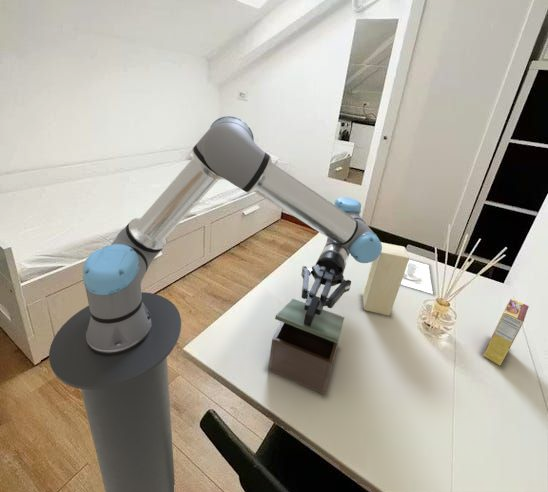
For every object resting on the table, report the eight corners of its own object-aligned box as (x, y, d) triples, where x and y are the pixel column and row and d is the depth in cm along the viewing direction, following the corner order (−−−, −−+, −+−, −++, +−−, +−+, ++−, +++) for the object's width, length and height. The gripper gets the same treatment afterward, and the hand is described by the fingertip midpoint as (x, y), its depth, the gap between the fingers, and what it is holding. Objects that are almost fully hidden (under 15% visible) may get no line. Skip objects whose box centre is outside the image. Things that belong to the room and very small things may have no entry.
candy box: (489, 338, 84) (511, 297, 78) (507, 348, 82) (531, 306, 76) (481, 355, 79) (504, 311, 73) (499, 366, 76) (525, 322, 70)
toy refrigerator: (387, 300, 96) (404, 245, 87) (390, 316, 89) (409, 258, 81) (362, 294, 97) (377, 240, 89) (363, 310, 90) (380, 252, 82)
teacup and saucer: (396, 276, 109) (399, 267, 107) (396, 265, 115) (399, 256, 114) (421, 283, 106) (424, 274, 104) (420, 272, 113) (423, 263, 111)
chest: (324, 395, 64) (332, 364, 60) (268, 369, 68) (272, 339, 65) (336, 348, 76) (343, 320, 72) (287, 329, 80) (292, 301, 76)
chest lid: (337, 343, 58) (338, 339, 58) (274, 319, 62) (275, 315, 62) (343, 320, 72) (344, 317, 72) (292, 301, 76) (292, 298, 76)
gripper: (352, 281, 80) (335, 345, 60) (307, 267, 84) (277, 322, 64) (358, 258, 77) (342, 317, 57) (311, 245, 81) (280, 295, 61)
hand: (307, 320), depth 60 cm, fingers closed
